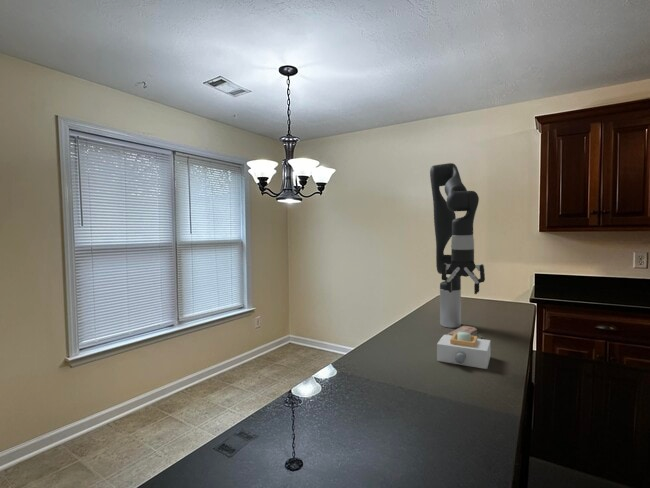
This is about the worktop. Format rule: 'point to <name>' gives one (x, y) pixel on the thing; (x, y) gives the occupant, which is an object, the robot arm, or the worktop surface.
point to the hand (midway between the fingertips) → (462, 292)
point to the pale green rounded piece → (464, 336)
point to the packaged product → (466, 329)
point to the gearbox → (464, 351)
